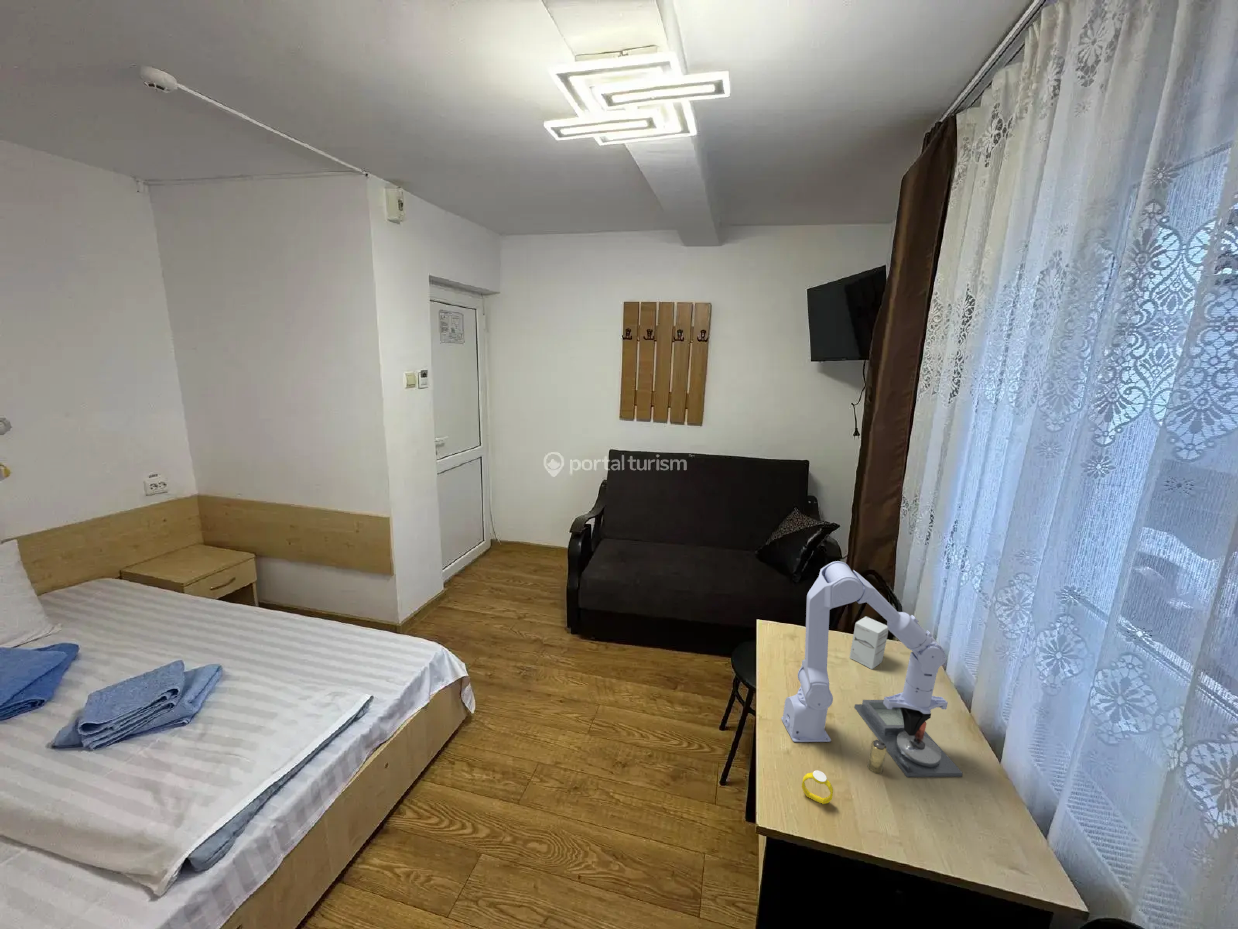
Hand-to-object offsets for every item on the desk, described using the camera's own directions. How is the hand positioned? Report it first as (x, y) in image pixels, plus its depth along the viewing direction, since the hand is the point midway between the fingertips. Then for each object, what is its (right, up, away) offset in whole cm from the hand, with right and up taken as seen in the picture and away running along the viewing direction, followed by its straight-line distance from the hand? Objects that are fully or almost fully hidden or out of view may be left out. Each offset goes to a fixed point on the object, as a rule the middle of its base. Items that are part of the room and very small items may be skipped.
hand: (909, 732), depth 115 cm
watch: (-29, -6, -15) cm, 33 cm away
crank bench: (0, -3, +3) cm, 4 cm away
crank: (0, -3, -3) cm, 4 cm away
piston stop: (-12, -5, -6) cm, 14 cm away
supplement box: (+7, +3, +34) cm, 35 cm away
